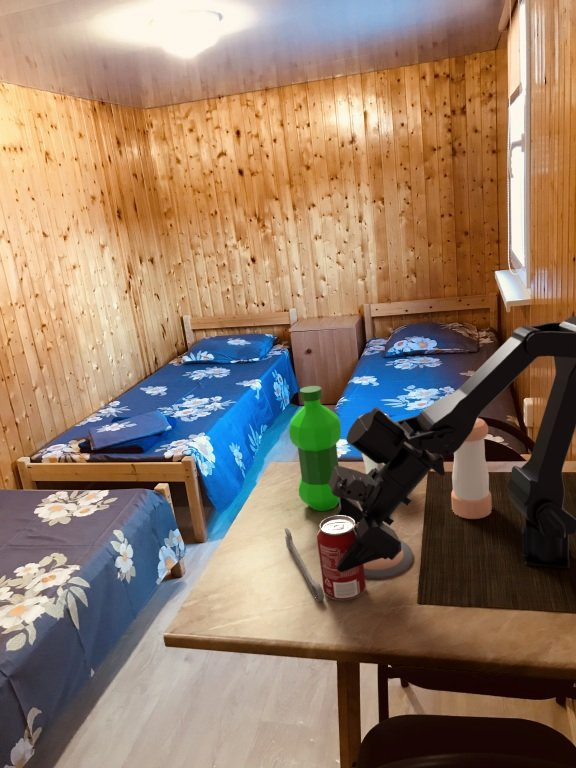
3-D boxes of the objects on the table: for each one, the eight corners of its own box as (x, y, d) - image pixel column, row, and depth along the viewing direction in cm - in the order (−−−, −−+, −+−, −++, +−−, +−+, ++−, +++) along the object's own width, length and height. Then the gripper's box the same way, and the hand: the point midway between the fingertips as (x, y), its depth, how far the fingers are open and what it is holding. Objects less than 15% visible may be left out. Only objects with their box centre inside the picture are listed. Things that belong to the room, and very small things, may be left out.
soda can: (364, 604, 95) (357, 535, 91) (320, 603, 96) (312, 535, 93) (367, 578, 101) (361, 513, 98) (326, 578, 103) (319, 513, 99)
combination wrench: (323, 586, 95) (289, 524, 114) (315, 588, 95) (282, 525, 114) (325, 606, 97) (291, 541, 115) (317, 608, 96) (284, 543, 115)
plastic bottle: (308, 491, 133) (294, 381, 126) (355, 494, 129) (343, 381, 122) (291, 514, 125) (275, 397, 117) (341, 518, 121) (328, 397, 113)
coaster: (418, 542, 109) (417, 538, 109) (405, 582, 99) (405, 578, 99) (352, 536, 114) (352, 533, 114) (333, 574, 103) (333, 570, 103)
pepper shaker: (453, 519, 115) (448, 423, 110) (450, 500, 122) (445, 409, 117) (494, 518, 114) (491, 421, 108) (489, 499, 121) (486, 407, 115)
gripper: (345, 428, 101) (286, 499, 103) (372, 475, 83) (300, 560, 86) (395, 465, 104) (337, 534, 106) (432, 518, 86) (361, 599, 88)
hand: (333, 553), depth 97 cm, fingers open, 9 cm apart
